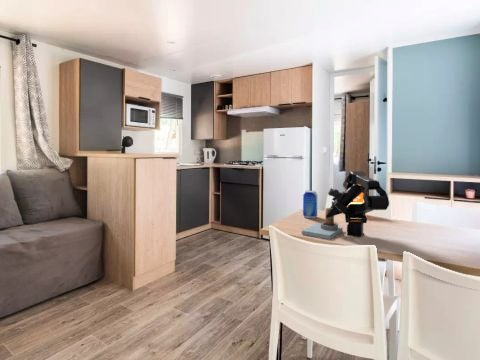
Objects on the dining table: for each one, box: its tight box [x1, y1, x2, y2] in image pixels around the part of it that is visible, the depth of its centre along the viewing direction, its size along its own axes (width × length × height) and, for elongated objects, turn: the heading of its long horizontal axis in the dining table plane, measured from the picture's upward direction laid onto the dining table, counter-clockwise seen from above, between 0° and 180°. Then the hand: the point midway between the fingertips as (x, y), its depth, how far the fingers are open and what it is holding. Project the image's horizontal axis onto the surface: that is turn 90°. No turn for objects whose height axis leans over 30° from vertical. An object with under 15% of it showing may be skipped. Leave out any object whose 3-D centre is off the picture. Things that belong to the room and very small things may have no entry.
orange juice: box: [347, 184, 364, 207], centre depth 190 cm, size 8×9×20 cm
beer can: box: [302, 190, 318, 219], centre depth 183 cm, size 8×8×16 cm
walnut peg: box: [325, 207, 335, 226], centre depth 150 cm, size 4×4×9 cm
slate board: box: [301, 222, 344, 240], centre depth 149 cm, size 14×17×4 cm
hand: (326, 216), depth 151 cm, fingers closed on walnut peg, 4 cm apart
